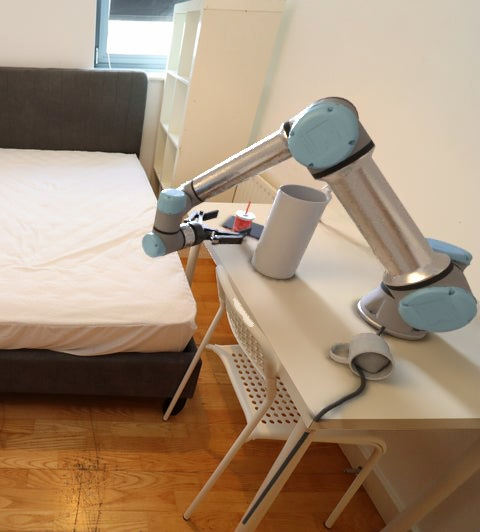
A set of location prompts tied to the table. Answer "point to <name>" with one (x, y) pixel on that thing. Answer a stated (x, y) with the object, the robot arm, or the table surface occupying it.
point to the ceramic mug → (367, 356)
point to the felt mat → (256, 228)
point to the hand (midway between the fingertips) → (232, 222)
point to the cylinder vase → (288, 230)
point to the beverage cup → (243, 219)
